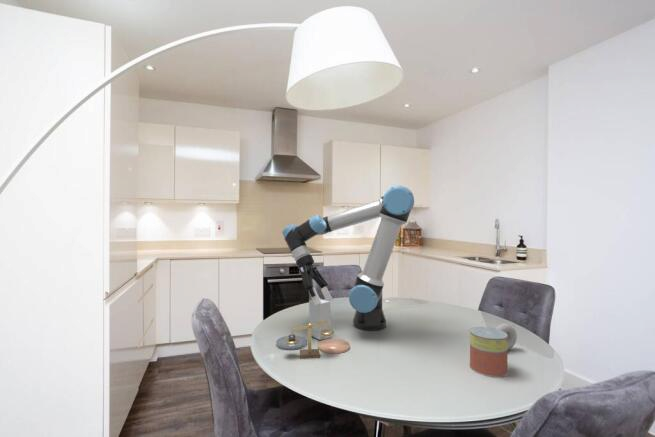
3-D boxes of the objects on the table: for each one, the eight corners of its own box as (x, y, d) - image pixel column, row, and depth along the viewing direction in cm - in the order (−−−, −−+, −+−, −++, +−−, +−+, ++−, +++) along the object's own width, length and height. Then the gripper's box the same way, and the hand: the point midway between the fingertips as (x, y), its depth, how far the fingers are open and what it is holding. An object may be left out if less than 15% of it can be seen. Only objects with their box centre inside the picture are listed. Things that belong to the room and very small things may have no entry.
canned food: (516, 374, 106) (516, 336, 106) (486, 379, 103) (487, 340, 102) (489, 359, 117) (489, 325, 116) (462, 363, 113) (462, 328, 113)
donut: (496, 353, 122) (496, 326, 122) (489, 349, 125) (490, 323, 125) (519, 350, 125) (519, 323, 125) (511, 347, 128) (511, 321, 128)
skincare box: (331, 338, 136) (331, 301, 137) (318, 340, 133) (319, 303, 133) (320, 332, 143) (320, 297, 144) (308, 334, 140) (308, 299, 140)
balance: (333, 351, 123) (333, 318, 123) (334, 357, 118) (335, 322, 118) (284, 353, 121) (285, 319, 121) (284, 359, 116) (284, 323, 116)
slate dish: (306, 337, 137) (306, 335, 137) (307, 349, 125) (307, 346, 125) (276, 338, 136) (276, 335, 136) (275, 350, 124) (275, 347, 124)
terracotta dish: (346, 340, 134) (346, 338, 134) (351, 353, 122) (351, 349, 122) (316, 341, 132) (316, 338, 132) (319, 354, 121) (319, 351, 121)
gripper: (307, 262, 159) (327, 303, 152) (282, 261, 135) (304, 309, 129) (320, 254, 157) (341, 296, 150) (297, 252, 134) (320, 300, 127)
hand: (324, 302), depth 140 cm, fingers open, 13 cm apart
